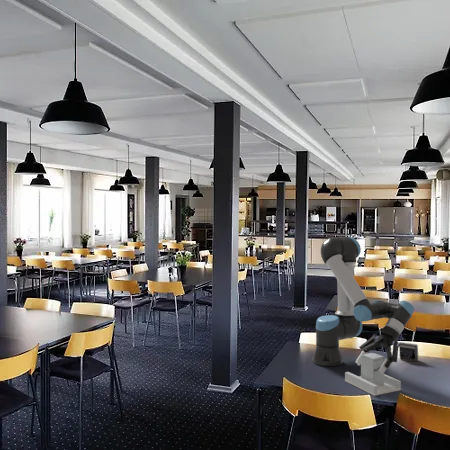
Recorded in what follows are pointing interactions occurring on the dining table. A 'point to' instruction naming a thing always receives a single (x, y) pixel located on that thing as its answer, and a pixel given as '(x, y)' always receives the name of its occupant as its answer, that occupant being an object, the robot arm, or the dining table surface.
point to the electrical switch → (408, 351)
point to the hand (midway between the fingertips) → (368, 368)
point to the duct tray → (380, 388)
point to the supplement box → (372, 368)
